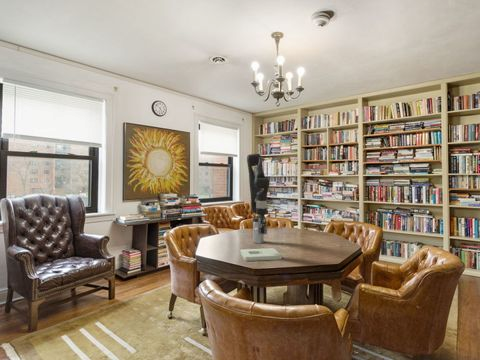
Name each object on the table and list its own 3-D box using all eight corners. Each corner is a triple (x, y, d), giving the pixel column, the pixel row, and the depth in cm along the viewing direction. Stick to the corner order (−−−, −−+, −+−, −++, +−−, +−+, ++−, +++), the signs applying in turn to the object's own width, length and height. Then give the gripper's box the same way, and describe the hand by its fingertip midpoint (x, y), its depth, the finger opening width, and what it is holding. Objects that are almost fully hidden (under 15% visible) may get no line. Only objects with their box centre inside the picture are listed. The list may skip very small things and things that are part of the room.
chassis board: (240, 252, 197) (240, 249, 197) (273, 251, 201) (273, 247, 201) (245, 260, 178) (245, 256, 178) (281, 259, 181) (281, 255, 181)
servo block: (254, 233, 192) (254, 225, 192) (267, 233, 193) (267, 224, 193) (256, 234, 188) (256, 225, 188) (269, 234, 189) (269, 225, 189)
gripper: (254, 206, 197) (254, 231, 197) (258, 208, 183) (258, 234, 183) (264, 206, 198) (264, 230, 198) (270, 208, 184) (270, 234, 184)
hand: (261, 232), depth 190 cm, fingers closed on servo block, 4 cm apart
